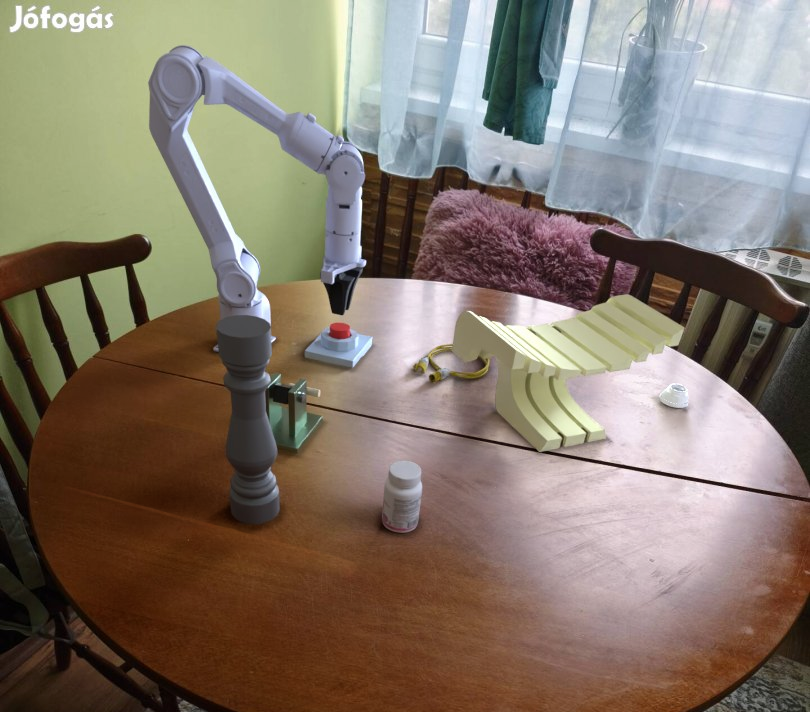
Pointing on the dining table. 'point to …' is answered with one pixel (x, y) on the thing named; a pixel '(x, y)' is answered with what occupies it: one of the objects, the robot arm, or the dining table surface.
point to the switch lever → (283, 390)
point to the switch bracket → (290, 416)
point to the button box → (339, 348)
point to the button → (339, 331)
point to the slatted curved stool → (562, 363)
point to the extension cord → (445, 372)
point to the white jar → (675, 396)
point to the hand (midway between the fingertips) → (340, 311)
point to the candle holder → (249, 417)
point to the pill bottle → (402, 497)
